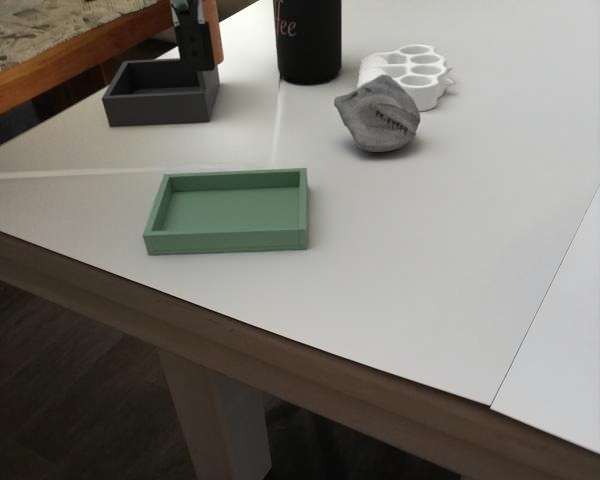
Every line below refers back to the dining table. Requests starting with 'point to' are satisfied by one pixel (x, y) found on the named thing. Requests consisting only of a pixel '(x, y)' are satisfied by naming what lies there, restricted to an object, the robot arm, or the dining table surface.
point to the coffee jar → (308, 39)
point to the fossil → (379, 115)
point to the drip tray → (229, 212)
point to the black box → (158, 94)
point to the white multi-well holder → (410, 72)
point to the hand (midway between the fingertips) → (202, 59)
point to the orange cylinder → (214, 29)
